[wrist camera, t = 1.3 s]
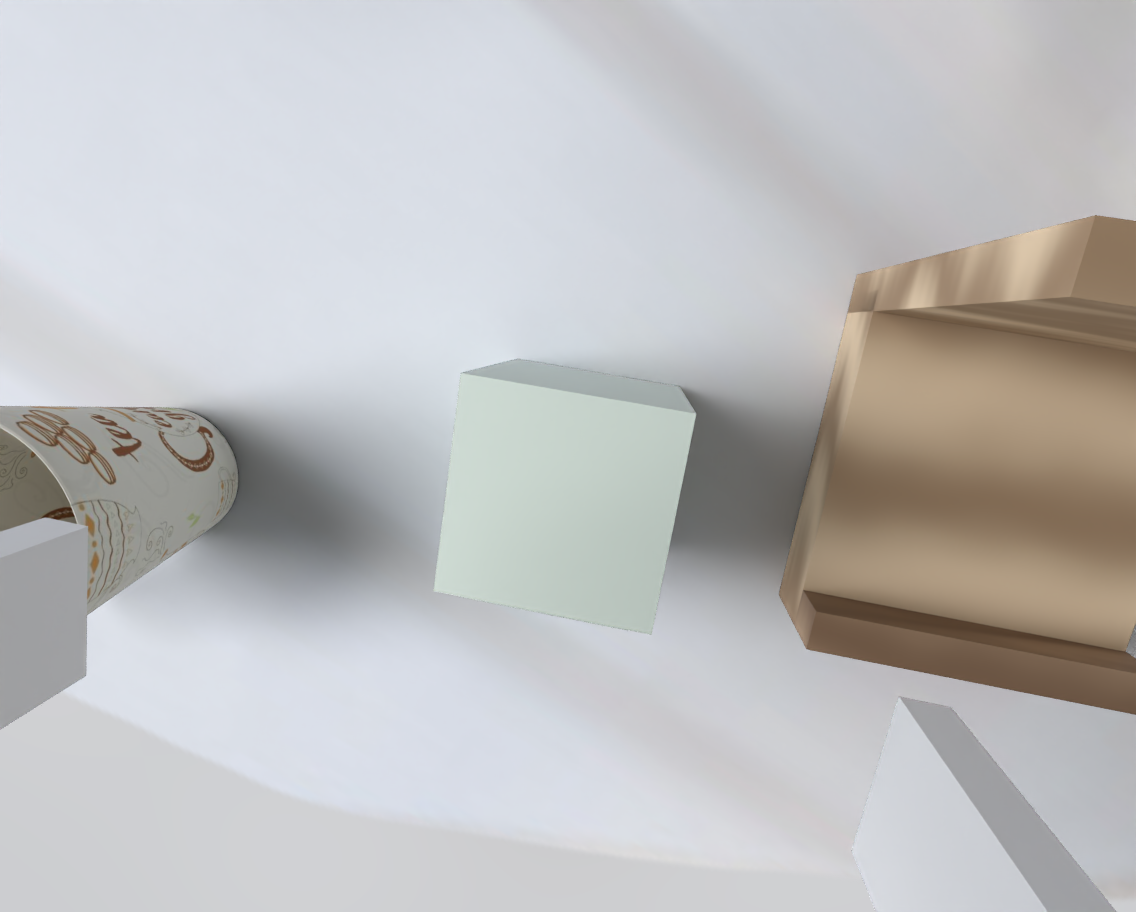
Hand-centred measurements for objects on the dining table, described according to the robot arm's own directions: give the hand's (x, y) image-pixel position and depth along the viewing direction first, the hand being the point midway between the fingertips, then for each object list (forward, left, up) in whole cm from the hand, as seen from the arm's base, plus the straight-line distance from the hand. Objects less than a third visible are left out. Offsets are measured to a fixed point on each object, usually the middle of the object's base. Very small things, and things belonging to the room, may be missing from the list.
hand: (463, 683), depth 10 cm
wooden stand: (-2, +16, -19) cm, 24 cm away
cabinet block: (0, 0, -19) cm, 19 cm away
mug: (+6, -20, -19) cm, 28 cm away
